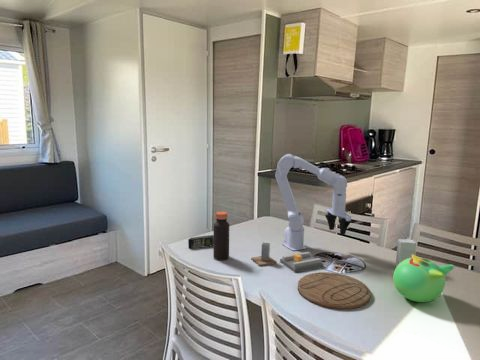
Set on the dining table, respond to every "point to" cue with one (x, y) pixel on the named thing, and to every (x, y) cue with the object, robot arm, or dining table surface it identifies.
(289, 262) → the box
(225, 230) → the bottle
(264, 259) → the brushed metal block
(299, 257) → the breaker switch
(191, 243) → the mobile phone
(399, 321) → the dining table surface
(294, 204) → the robot arm
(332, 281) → the trivet
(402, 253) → the skincare box
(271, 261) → the cork coaster
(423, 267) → the toy bird
